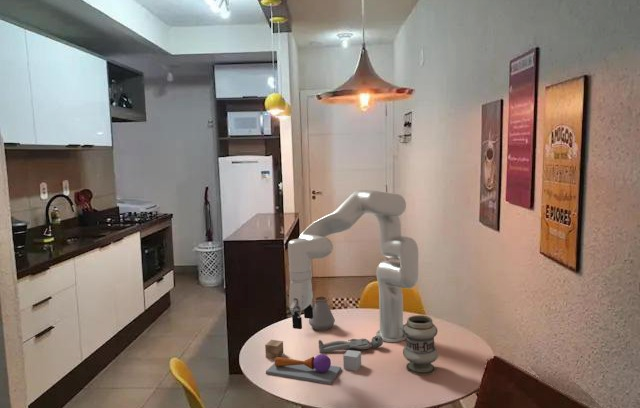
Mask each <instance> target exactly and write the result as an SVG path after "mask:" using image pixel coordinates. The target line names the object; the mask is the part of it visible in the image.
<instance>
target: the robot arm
mask: <svg viewBox="0 0 640 408" xmlns="http://www.w3.org/2000/svg"><path fill="white" fill-rule="evenodd" d="M406 208H407V203H406V200H405V198H404V196H402V195H401V194H398V193H392V192H385V191H379V190H367V189H359V190H355V191H354V192H352V193H351V194H350V195H349V196H348V197H347V198H346V199H345V200H344V201H343V202H342V203H341V204H340V205H339V206H338V207H337V208H336V209H335V210H334V211H333V212H331V213H329V214H326V215H325V216H323V217H321V218H319V219H317V220H316V221H313V222H312V223H311V224H310V225H308V226H307V227H306V228H305V229H304V230H303V231H302V232H301V234H299V237H298V238H295V239H294V238H293V239H291V240H289V241H288V243H287V249H288V250H287V253H288V254H287V255H288V269H289V281H290V283H289V294H288V295H289V311H290V315H291V319H292V329H294V330H301V329H303V321H302V311H303V315H304V318H305V319H312V318H313V309H314V306H313V304H314V303H313V300H314V292H313V286H312V278H313V277H312V276H313V275H312V259H315V260H316V259H324V258H327V257H328V256H330V255H331V253H332V252H333V249H334V245H333V242H332V240H331V239H329V238H328V237H327V236H329V235H333V234H337V233H342V232H346V231H348V230H351V229H352V227H353V226H354V225H355V224H356V223H357V222H358V221H359V220H360V218H362V217H363V215H365V214H373V215H374V216H375V218H376V220H377V221H378V224H379V251H380V254H381V255H382V256H383V257H384V258H389V259H392V260H389V259H387V260H382V261H381V262H380V263H379V264H378V265H377V266H376V270H375V271H376V272H375V273H376V280H377V285H378V295H379V296H378V297H379V298H378V303H379V308H378V309H379V312H378V313H379V329H378V330H377V331H376V332H375V336H378V335H379V336H380V337H381V338H382V339H383V342H385V343H398V342H402V341H404V340H405V341H406V335H405V334H404V333H403V326H404V325H405V324H404V297H403V296H404V295H403V291H402V289H406V290H407V289H408V290H409V289H412V288H414V287H416V284H417V282H418V279H419V248H418V243H417V242H416V240H415V239H413V237H410V236H405V235H404V236H403V235H402V224H401V220H400V216H401V215H403V213H405V210H406ZM394 260H397V261H394Z"/></svg>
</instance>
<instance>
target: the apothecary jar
mask: <svg viewBox="0 0 640 408" xmlns="http://www.w3.org/2000/svg"><path fill="white" fill-rule="evenodd" d="M406 320H407V321H406V323H405V324H403V325H404V326H403V333H404V334H405V335H406V339H405V342H406V344H405V346H404V348H403V349H402V355H403V357H404V358H405V359H406V360H407V361H408V363H407V364H406V366H405V367H406V370H407V371H408V372H411V373H412V374H414V375H417V376H427V375H428V376H429V375H431V374H433V373H435V372H436V367H435V366H434V364H432V363H434V362H435V361H437V359H438V357H439V351H438V349H437V347H435V337H436V336H437V335H438V328H437V326H436V325H435V324H434V323H433V319H432V318H431V317H430V316H428V315H422V314H417V315H410V316H408V318H407V319H406Z"/></svg>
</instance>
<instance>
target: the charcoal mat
mask: <svg viewBox="0 0 640 408" xmlns="http://www.w3.org/2000/svg"><path fill="white" fill-rule="evenodd" d="M341 371H342V367H341V366H337V365H331V366H330V368H329V370H328V371H326V372H318V371H317V370H316V369H315V368H314V369H311V368H309V367H307V366H306V365H304V364H302V365H291V366H279V367H276V366H275V362H274V363H273V364H272V365H271V366H270V367H268V368H267V370H265V375H270V376H271V375H272V376H276V377H277V376H278V377H284V378H287V379H288V378H289V379H296V380H301V381H308V382H313V383H319V384H324V385H325V384H326V385H332V384H333V382H334V380H335V379H336V377H338V375H339V374H340V372H341Z"/></svg>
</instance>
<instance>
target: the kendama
mask: <svg viewBox="0 0 640 408" xmlns="http://www.w3.org/2000/svg"><path fill="white" fill-rule="evenodd" d="M274 363H275V366H276V367H279V366H291V365H302V364H304V365H306V366H307V367H309V368H311V369H314V368H315V369H316V370H317V371H318V372H326V371H328V370H329V368H330V366H332V365H331V364H332V362H331V359H330V358H329V356H328V355H326V354H325V353H320V354H318V355H316V356H315V357H314V356H312V357H309V358H307V359H305V360H299V359H292V358H287V357H281V356H280V357H276V358H275V359H274Z"/></svg>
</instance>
